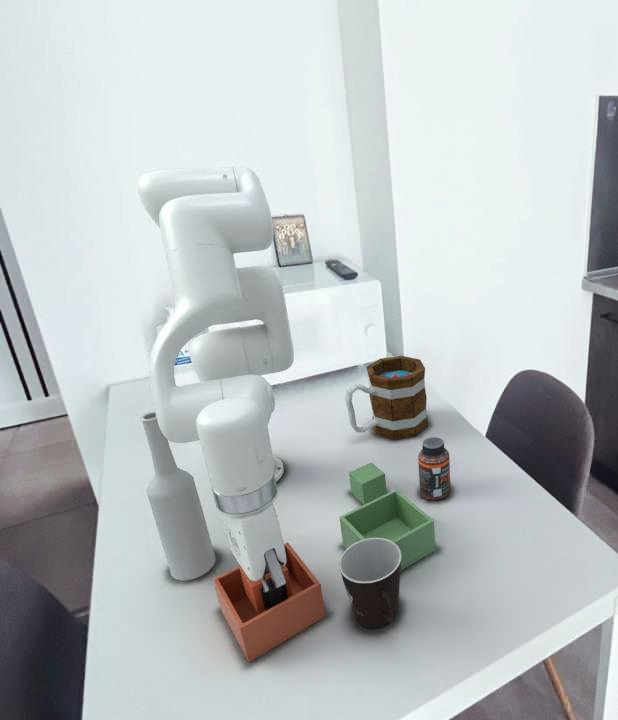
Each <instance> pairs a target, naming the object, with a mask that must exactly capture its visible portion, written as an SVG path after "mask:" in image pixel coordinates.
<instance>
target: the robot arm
mask: <svg viewBox="0 0 618 720" xmlns="http://www.w3.org/2000/svg"><path fill="white" fill-rule="evenodd" d="M136 185H137V193H138V196H139V199H140V201H141V203H142V205H143V207H144V210H145V211H146V212H147V214H148V215H149V217H150V218H151V220H152V221H153V222H154V224H155V225H156V226H157V227H158V228H159V229H160V233H161V240H162V244H163V249H164V250H163V251H164V255H165V259H166V264H167V270H168V274H169V279H170V285H171V290H172V296H173V300H174V310H173V312H172V314H171V316H170V317H169V318H168V320H167V321H166V322H165V324H164V325H163V326H162V327H161V329H160V331H159V333H158V335H157V337H156V338H155V341H154V343H153V345H152V348H151V351H150V354H149V355H150V356H149V362H148V376H149V384H150V388H151V394H152V401H153V408H154V411H155V412H156V418H157V421H158V424H159V428H160V430H161V432H162V434H163V435H164V436H165V437H166V438H167V439H168V442H172V443H175V444H187V443H192V442H193V443H194V442H196V441H197V442H198V441H199V443H200V447H201V451H202V454H203V459H204V464H205V467H206V472H207V475H208V479H209V483H210V487H211V490H212V494H213V498H214V502H215V508H216V510H217V512H218V513H219V514H220V515H222V517H223V523H224V528H225V533H226V539H227V543H228V547H229V549H230V551H231V553H232V554H233V556H234V558H235V560H236V561H237V563H238V565H239V566H241V567H242V569H243V570H244V572H245V573H246V575H247V576H248V578H249V579H250V580H252V581H257V580H259V579H260V582H261V585H262V589H260V591H261V595H262V600H263V604H264V608H265V610H266V611H267V610H269V609H270V608H272V607H274V606H276V605H278V604H279V603H281V602H283V601H285V600H287V599H288V595H287V590H286V585H285V584H286V581H285V578H284V575H283V573H282V570H281V566H283V567H284V566H285V564H286V552H285V547H284V544H285V543H284V539H283V535H282V531H281V530H282V529H281V527H280V523H279V518H278V515H277V512H276V511H277V510H276V508H275V505H274V502H275V501H276V500H277V498H278V495H279V490H278V486H277V483H278V481H279V480H280V479H281V478H282V476H283V474H284V470H285V468H284V463H283V461H282V460H281V459H280V458H278V457H277V456H274V453H273V448H272V444H271V443H272V442H271V438H270V433H269V427H268V426H269V423H270V420H271V418H272V414H273V413H274V412H275V407H276V401H275V400H276V399H275V393H274V389H273V386H272V385H271V383H270V382H268V380H267V379H266V378H265V377H264V376H266V375H270V374H276V373H280V372H285V371H287V370H288V369H290V368H291V367H292V366H293V363H294V360H295V352H294V343H293V338H292V337H293V336H292V331H291V327H290V320H289V316H288V308H287V304H286V297H285V292H284V289H283V285H282V281H281V279H280V277H279V275H278V274H277V272H276V271H275V270H274V269H273V268H272V267H269V266H266V265H252V266H243V267H237V266H236V261H235V256H234V255H235V254H241V253H251V252H261V251H265V250H268V249H269V248H270V247H271V246H272V245H273V241H274V234H275V231H274V222H273V217H272V212H271V208H270V205H269V202H268V198H267V196H266V194H265V191H264V187H263V185H262V182H261V180H260V178H259V177H258V174H256V172H255V171H254V170H252V168H249V167H245V166H219V167H218V166H217V167H215V166H214V167H187V168H186V167H185V168H182V167H181V168H167V169H159V170H158V169H157V170H153V171H150V172H146V173H145V174H143V175H142V176H140V177H139V179H138V181H137V184H136ZM254 320H255V321H256V320H257V321H261V322H262V323H259V324H253V325H245V326H236V327H232V328H231V327H230V328H229V327H228V328H223V329H222V328H221V329H217V330H212V331H208V332H204V333H202V332H203V331H205V330H207V329H208V328H210V327H212V326H219V325H227V324H234V323H241V322H248V321H254ZM200 333H202V334H200ZM199 334H200V335H199ZM197 335H198V336H197ZM196 336H197V337H196ZM194 337H195V338H194ZM193 338H194V339H193ZM192 339H193V340H192ZM191 340H192V342H191V343H190V346H189V357H190V361H191V364H192V367H193V370H194V372H195V374H196V376H197V379H198V381H199V382H195V383H189V384H184V385H177V384H176V379H175V365H176V360H177V357H178V356H179V354H180V352H181V350H182V349H183V348H184V346H186V345H187V343H189V342H190V341H191ZM266 565H267V566H266ZM280 565H281V566H280ZM268 573H270V575H271V577H272V579H271V580H269V581H268V582H267V581H266V578H265V575H266V574H268Z"/></svg>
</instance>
